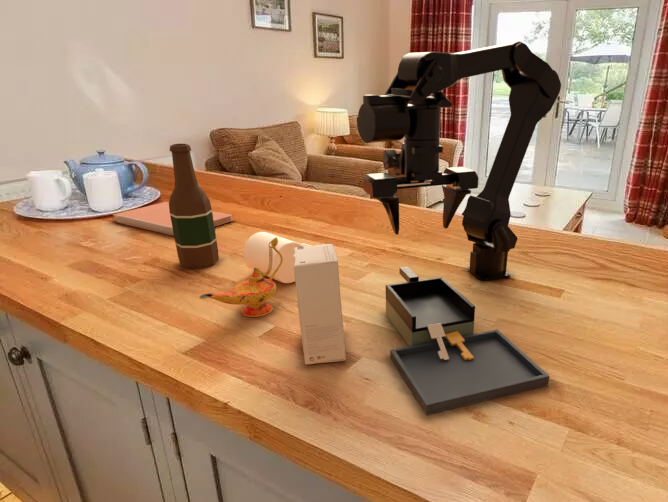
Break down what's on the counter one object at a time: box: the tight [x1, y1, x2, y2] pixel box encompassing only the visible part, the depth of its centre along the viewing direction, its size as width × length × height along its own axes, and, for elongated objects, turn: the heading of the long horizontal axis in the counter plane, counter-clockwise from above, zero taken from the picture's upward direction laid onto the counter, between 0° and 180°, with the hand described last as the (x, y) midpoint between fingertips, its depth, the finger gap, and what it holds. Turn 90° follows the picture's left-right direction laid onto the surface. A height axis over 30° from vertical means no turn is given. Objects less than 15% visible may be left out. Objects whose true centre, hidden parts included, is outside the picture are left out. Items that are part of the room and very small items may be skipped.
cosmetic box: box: [293, 243, 347, 365], centre depth 68 cm, size 8×6×15 cm
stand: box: [385, 299, 475, 347], centre depth 77 cm, size 12×10×3 cm
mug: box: [242, 231, 311, 284], centre depth 96 cm, size 12×10×8 cm
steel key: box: [427, 323, 449, 361], centre depth 69 cm, size 6×2×1 cm
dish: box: [385, 265, 476, 332], centre depth 78 cm, size 17×10×3 cm, turn 21°
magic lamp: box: [199, 237, 283, 318], centre depth 79 cm, size 7×18×11 cm, turn 153°
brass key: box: [445, 331, 474, 361], centre depth 70 cm, size 6×2×1 cm, turn 28°
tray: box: [389, 328, 551, 416], centre depth 66 cm, size 17×13×1 cm
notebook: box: [112, 201, 235, 237], centre depth 129 cm, size 27×17×2 cm, turn 61°
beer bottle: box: [168, 143, 220, 269], centre depth 98 cm, size 8×8×24 cm
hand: (421, 230), depth 85 cm, fingers open, 9 cm apart
